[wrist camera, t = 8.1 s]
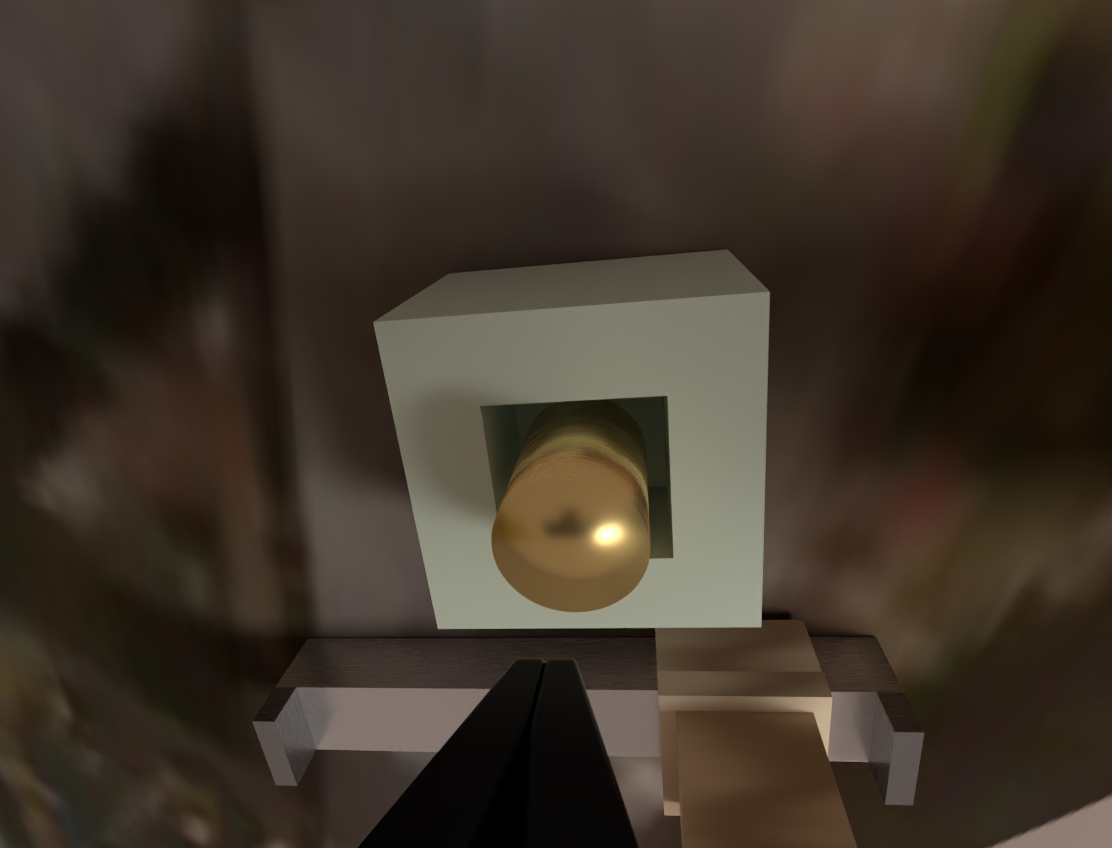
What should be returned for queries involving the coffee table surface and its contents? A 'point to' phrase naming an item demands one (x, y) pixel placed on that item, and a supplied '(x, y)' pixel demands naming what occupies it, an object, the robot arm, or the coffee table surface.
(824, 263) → the coffee table surface
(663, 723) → the carriage
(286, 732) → the rail
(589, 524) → the button
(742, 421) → the cabinet
